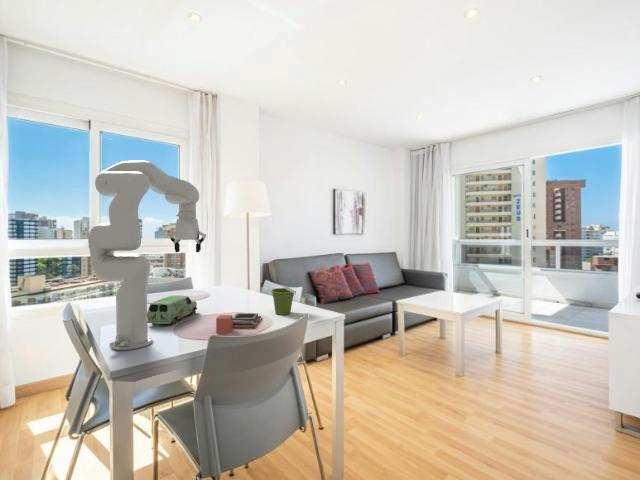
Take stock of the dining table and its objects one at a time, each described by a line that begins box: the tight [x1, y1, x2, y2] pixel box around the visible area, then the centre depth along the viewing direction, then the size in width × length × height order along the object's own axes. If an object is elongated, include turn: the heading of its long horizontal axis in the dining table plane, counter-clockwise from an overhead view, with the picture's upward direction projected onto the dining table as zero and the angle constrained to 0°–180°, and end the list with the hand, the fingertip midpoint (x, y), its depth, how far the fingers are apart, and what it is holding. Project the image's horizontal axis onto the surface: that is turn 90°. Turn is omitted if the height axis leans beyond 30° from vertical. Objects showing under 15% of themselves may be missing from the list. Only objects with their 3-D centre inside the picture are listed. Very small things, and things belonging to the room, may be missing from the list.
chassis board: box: [232, 312, 262, 330], centre depth 143 cm, size 16×12×3 cm
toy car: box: [147, 294, 198, 326], centre depth 149 cm, size 11×25×10 cm, turn 174°
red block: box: [215, 314, 234, 334], centre depth 131 cm, size 5×5×6 cm
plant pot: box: [270, 287, 295, 316], centre depth 160 cm, size 12×12×11 cm
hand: (187, 252), depth 157 cm, fingers open, 9 cm apart
